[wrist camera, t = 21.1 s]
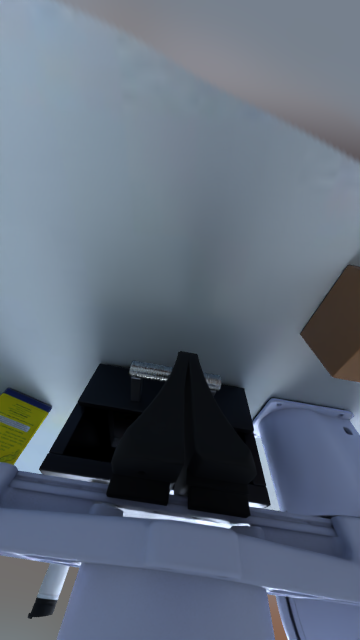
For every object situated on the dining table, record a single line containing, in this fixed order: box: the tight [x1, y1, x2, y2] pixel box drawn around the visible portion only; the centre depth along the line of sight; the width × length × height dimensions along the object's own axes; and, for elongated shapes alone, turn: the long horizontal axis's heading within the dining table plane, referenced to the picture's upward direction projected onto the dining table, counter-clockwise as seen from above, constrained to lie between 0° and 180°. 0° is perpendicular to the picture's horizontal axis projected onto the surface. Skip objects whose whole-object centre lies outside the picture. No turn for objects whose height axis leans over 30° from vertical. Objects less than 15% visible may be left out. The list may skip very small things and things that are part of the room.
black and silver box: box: [39, 403, 270, 529], centre depth 20 cm, size 16×14×10 cm
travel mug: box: [28, 563, 69, 619], centre depth 62 cm, size 6×7×20 cm
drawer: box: [78, 361, 254, 449], centre depth 20 cm, size 15×18×4 cm
